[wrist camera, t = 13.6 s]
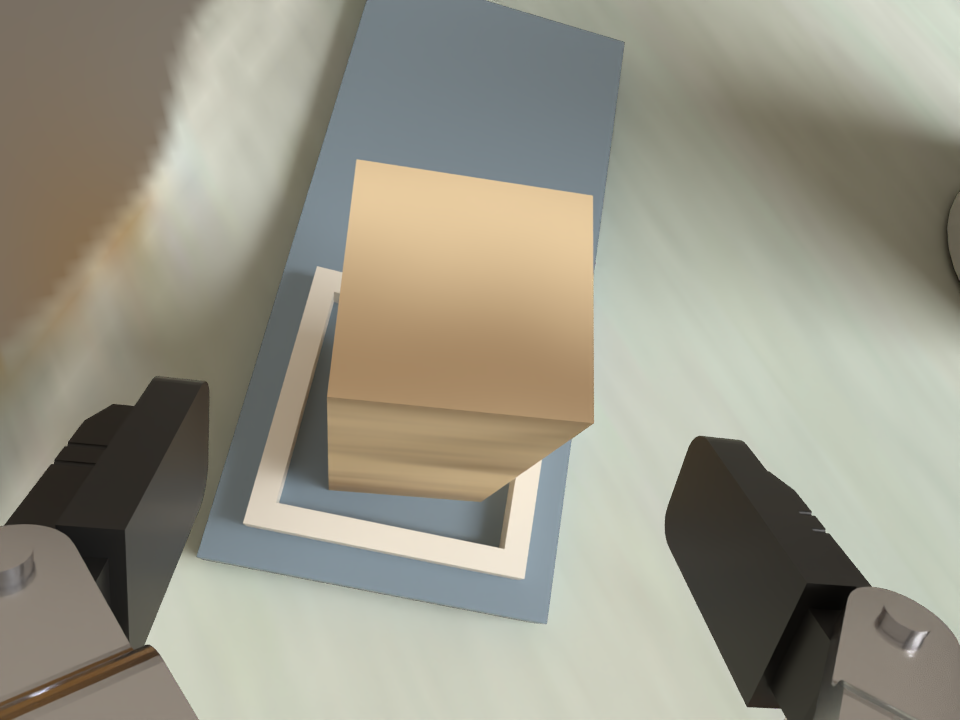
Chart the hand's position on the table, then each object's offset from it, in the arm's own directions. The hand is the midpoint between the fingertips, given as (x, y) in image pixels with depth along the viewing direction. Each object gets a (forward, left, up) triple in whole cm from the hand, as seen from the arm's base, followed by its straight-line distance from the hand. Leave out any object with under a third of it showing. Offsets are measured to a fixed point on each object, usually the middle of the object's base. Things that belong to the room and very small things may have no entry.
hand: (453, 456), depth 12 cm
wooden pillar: (-3, -1, -10) cm, 10 cm away
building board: (-8, -4, -11) cm, 14 cm away
